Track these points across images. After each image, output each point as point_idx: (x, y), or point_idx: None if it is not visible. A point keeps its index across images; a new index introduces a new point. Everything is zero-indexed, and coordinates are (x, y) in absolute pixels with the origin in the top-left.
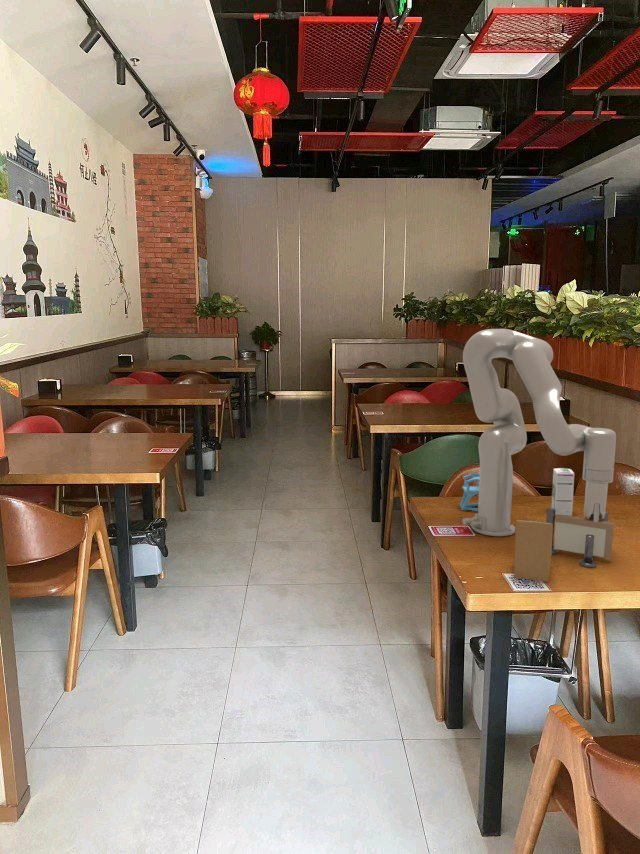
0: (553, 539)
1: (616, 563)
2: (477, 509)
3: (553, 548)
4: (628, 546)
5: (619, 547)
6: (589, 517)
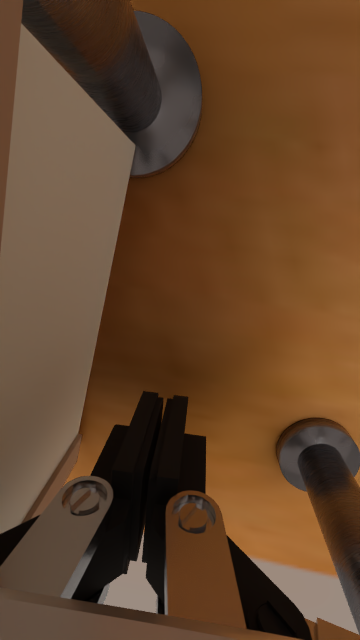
0: (97, 103)
1: None
2: None
3: (139, 138)
4: (331, 561)
5: (308, 523)
6: (169, 586)
